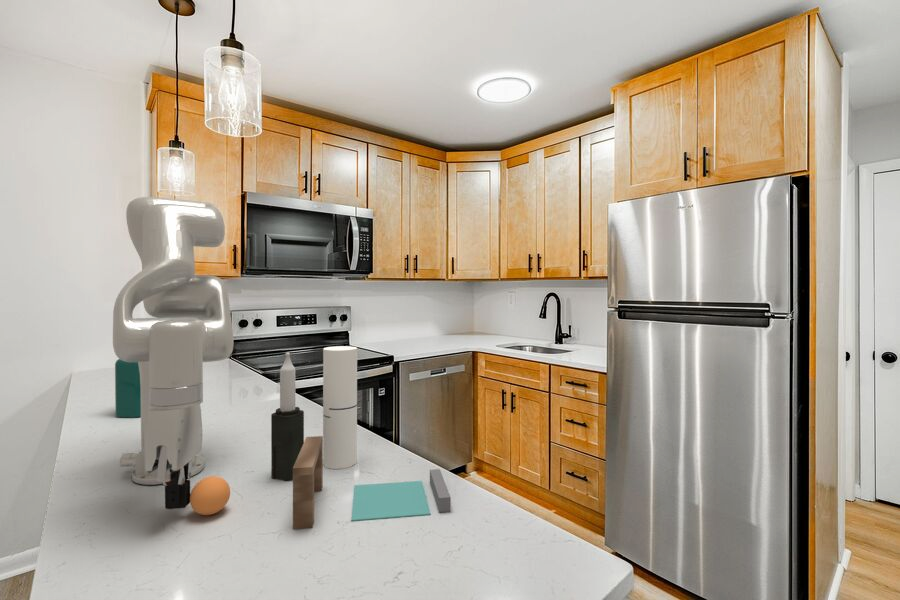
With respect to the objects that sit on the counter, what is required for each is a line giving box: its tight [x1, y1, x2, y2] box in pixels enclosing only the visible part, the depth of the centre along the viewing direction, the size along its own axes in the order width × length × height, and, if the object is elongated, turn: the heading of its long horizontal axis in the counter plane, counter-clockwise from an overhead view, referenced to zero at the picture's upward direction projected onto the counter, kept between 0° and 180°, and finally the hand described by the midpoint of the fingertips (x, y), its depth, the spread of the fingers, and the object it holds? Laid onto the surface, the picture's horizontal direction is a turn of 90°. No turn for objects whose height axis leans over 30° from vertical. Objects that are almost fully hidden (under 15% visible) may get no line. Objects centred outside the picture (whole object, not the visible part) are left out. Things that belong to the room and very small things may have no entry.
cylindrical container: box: [322, 345, 358, 470], centre depth 97 cm, size 7×7×25 cm
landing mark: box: [351, 480, 431, 522], centre depth 80 cm, size 13×13×1 cm
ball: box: [189, 475, 231, 516], centre depth 75 cm, size 6×6×6 cm
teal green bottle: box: [114, 358, 141, 419], centre depth 133 cm, size 10×8×22 cm
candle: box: [270, 351, 305, 482], centre depth 90 cm, size 5×5×25 cm
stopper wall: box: [429, 468, 452, 513], centre depth 82 cm, size 2×12×2 cm, turn 10°
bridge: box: [292, 435, 324, 530], centre depth 78 cm, size 3×15×10 cm, turn 10°
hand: (177, 506), depth 74 cm, fingers closed
